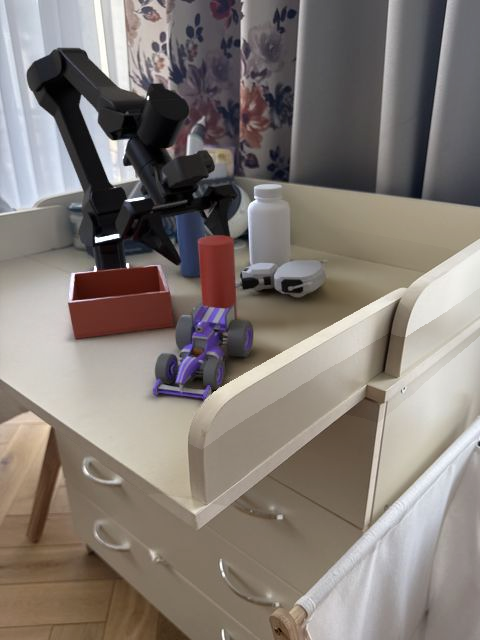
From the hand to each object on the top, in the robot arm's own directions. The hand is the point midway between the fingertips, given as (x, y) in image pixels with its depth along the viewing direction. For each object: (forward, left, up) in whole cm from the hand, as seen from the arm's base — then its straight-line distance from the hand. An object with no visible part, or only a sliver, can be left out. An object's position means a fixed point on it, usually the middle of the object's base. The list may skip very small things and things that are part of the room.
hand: (205, 256), depth 79 cm
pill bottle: (-23, +16, -10) cm, 30 cm away
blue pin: (-23, +1, -10) cm, 25 cm away
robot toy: (-9, +14, -10) cm, 19 cm away
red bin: (-6, -13, -10) cm, 17 cm away
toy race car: (+15, -4, -10) cm, 19 cm away
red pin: (+2, +1, -10) cm, 10 cm away
